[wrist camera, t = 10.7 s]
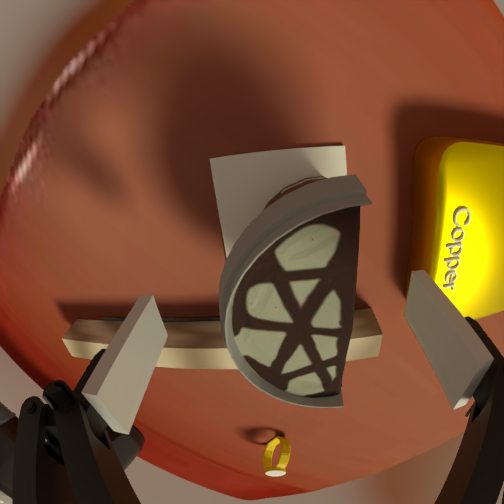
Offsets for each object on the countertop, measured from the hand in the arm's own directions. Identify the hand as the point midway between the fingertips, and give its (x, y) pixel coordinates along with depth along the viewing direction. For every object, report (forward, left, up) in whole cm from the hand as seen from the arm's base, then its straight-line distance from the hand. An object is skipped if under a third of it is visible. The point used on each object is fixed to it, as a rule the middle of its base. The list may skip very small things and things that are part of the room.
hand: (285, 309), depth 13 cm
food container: (0, 0, -8) cm, 8 cm away
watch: (-3, -31, -8) cm, 32 cm away
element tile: (+18, 0, -9) cm, 20 cm away
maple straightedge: (-8, -8, -8) cm, 14 cm away
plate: (0, 0, -8) cm, 8 cm away
